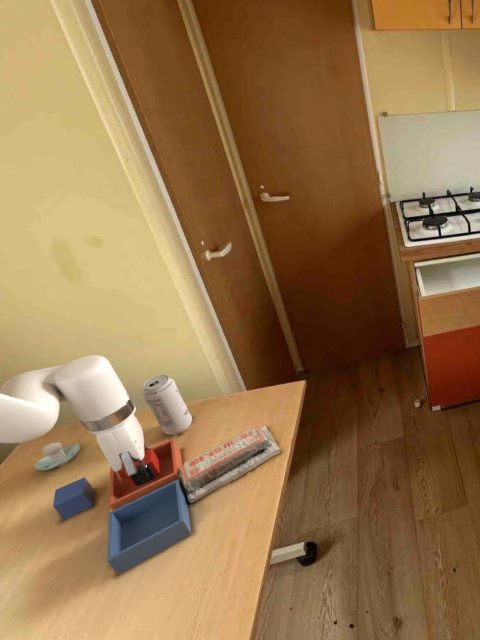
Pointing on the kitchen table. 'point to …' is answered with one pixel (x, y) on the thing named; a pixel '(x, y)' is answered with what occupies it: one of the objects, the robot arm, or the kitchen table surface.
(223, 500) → the kitchen table surface
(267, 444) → the packaged product
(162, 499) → the blue bin
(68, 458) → the pacifier
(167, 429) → the energy drink can
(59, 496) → the blue block
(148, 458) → the red block
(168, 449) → the terracotta bin
